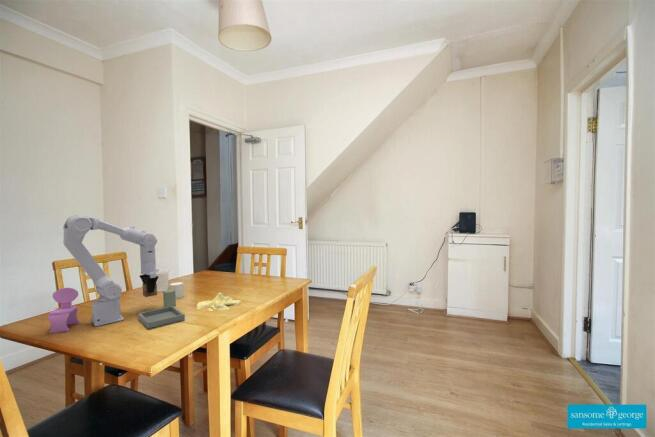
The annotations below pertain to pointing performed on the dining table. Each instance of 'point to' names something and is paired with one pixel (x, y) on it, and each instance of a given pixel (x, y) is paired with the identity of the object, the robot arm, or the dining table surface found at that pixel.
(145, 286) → the short block
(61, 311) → the toy chair
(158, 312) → the tray
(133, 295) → the dining table surface
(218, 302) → the cloth
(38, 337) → the dining table surface
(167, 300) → the tall block
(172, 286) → the shot glass
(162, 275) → the white cup
